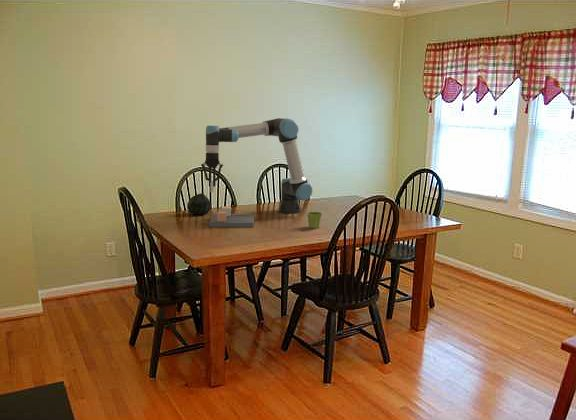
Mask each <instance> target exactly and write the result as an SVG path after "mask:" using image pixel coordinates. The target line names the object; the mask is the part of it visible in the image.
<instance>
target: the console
mask: <svg viewBox="0 0 576 420" xmlns="http://www.w3.org/2000/svg"><path fill="white" fill-rule="evenodd" d="M254 227H255V214H254V213H231V215H230V216H226V222H217V213H212V214H211V217H210V220H209V224H208V228H242V229H243V228H247V229H248V228H253V229H254Z"/></svg>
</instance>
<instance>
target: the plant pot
mask: <svg viewBox="0 0 576 420" xmlns="http://www.w3.org/2000/svg"><path fill="white" fill-rule="evenodd" d="M306 215H307V220H308V221H307V222H308V227H310V229H319V228H320V226H321V225H320V224H321V219H322V215H323V213H322V212H320V211H307V212H306ZM318 227H319V228H318Z"/></svg>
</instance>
